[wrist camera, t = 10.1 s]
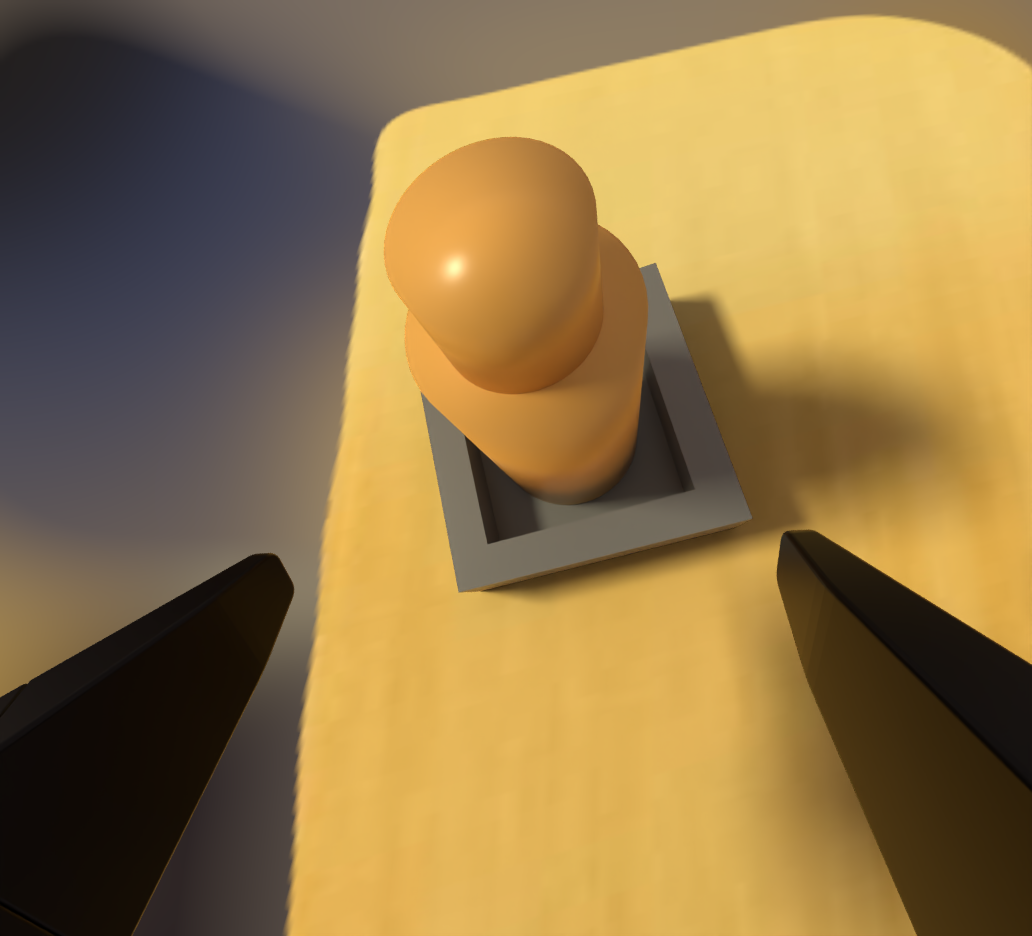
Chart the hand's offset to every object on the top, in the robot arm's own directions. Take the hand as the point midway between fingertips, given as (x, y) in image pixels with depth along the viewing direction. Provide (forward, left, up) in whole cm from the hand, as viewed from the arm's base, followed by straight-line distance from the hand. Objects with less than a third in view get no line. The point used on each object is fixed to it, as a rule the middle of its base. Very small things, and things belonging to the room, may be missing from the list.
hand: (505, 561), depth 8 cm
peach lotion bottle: (+6, -1, -12) cm, 13 cm away
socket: (+6, -1, -12) cm, 14 cm away
